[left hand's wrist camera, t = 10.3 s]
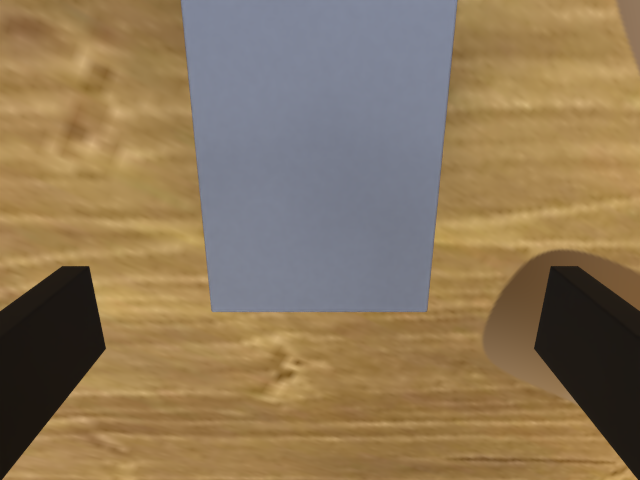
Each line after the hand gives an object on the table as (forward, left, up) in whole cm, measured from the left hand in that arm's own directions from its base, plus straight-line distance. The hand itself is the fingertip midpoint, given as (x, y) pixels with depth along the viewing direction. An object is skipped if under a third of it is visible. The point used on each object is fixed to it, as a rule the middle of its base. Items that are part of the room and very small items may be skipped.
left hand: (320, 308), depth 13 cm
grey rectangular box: (+6, -2, -18) cm, 19 cm away
